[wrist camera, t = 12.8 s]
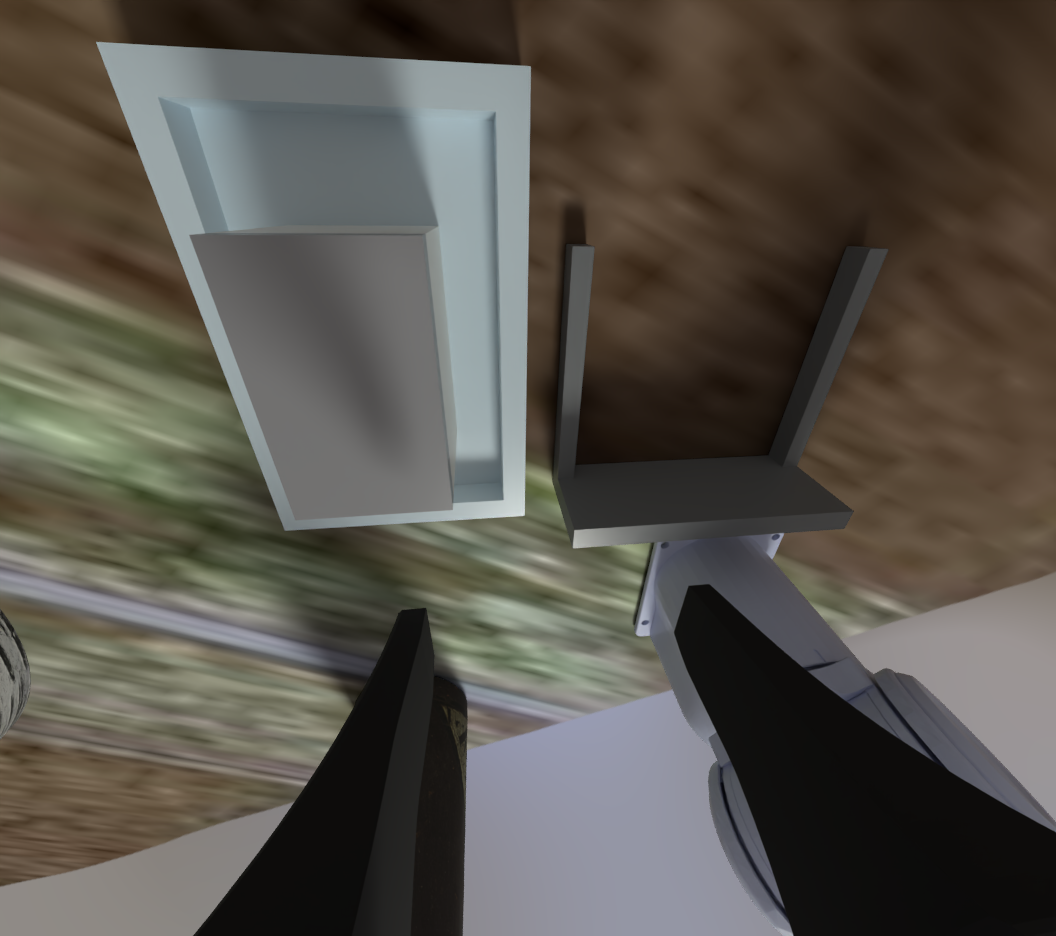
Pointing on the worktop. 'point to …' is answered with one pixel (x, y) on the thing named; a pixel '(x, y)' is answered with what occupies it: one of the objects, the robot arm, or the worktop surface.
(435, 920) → the container
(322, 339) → the block
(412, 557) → the worktop surface
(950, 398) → the worktop surface
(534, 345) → the worktop surface
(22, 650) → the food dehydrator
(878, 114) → the worktop surface
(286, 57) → the tray
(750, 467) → the bay
